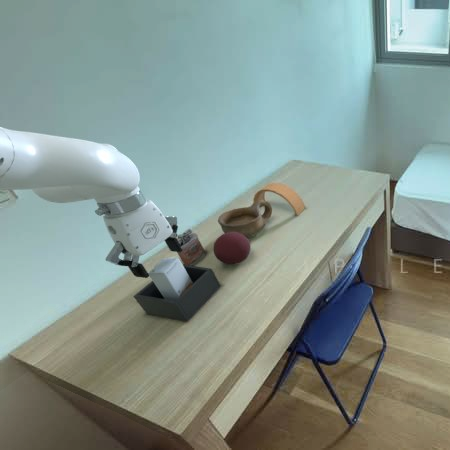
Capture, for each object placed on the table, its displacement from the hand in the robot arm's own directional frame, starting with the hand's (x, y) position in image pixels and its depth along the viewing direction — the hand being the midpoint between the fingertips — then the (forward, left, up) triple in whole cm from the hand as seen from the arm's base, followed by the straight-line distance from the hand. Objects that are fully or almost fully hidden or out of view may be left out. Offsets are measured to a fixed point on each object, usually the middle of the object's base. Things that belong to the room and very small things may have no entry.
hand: (161, 263), depth 76 cm
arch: (+48, 0, -14) cm, 50 cm away
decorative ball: (+17, -4, -14) cm, 23 cm away
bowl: (+33, +2, -14) cm, 36 cm away
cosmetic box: (0, 0, -13) cm, 13 cm away
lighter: (+15, +10, -14) cm, 23 cm away
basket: (0, 0, -14) cm, 14 cm away
